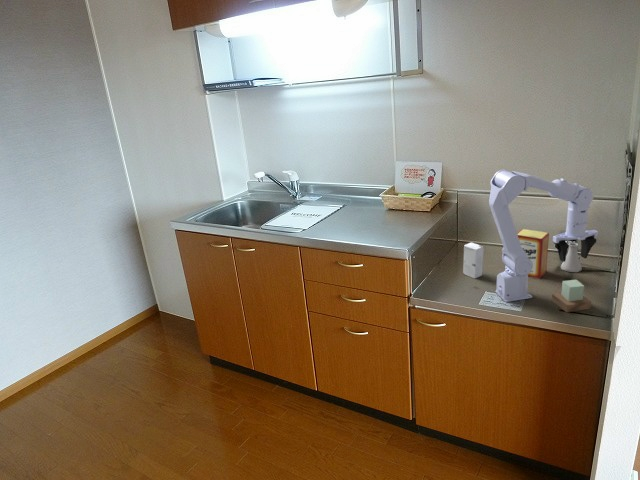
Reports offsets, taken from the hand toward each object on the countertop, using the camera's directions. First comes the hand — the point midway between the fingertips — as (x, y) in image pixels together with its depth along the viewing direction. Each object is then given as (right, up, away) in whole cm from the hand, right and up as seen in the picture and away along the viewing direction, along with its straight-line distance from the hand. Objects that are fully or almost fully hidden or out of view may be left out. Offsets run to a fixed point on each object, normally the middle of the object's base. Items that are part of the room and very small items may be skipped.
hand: (573, 258), depth 157 cm
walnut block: (-5, -15, -7) cm, 17 cm away
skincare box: (-27, -7, +20) cm, 35 cm away
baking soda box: (-7, -6, +16) cm, 19 cm away
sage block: (-5, -12, -8) cm, 15 cm away
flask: (+8, -5, +16) cm, 18 cm away
